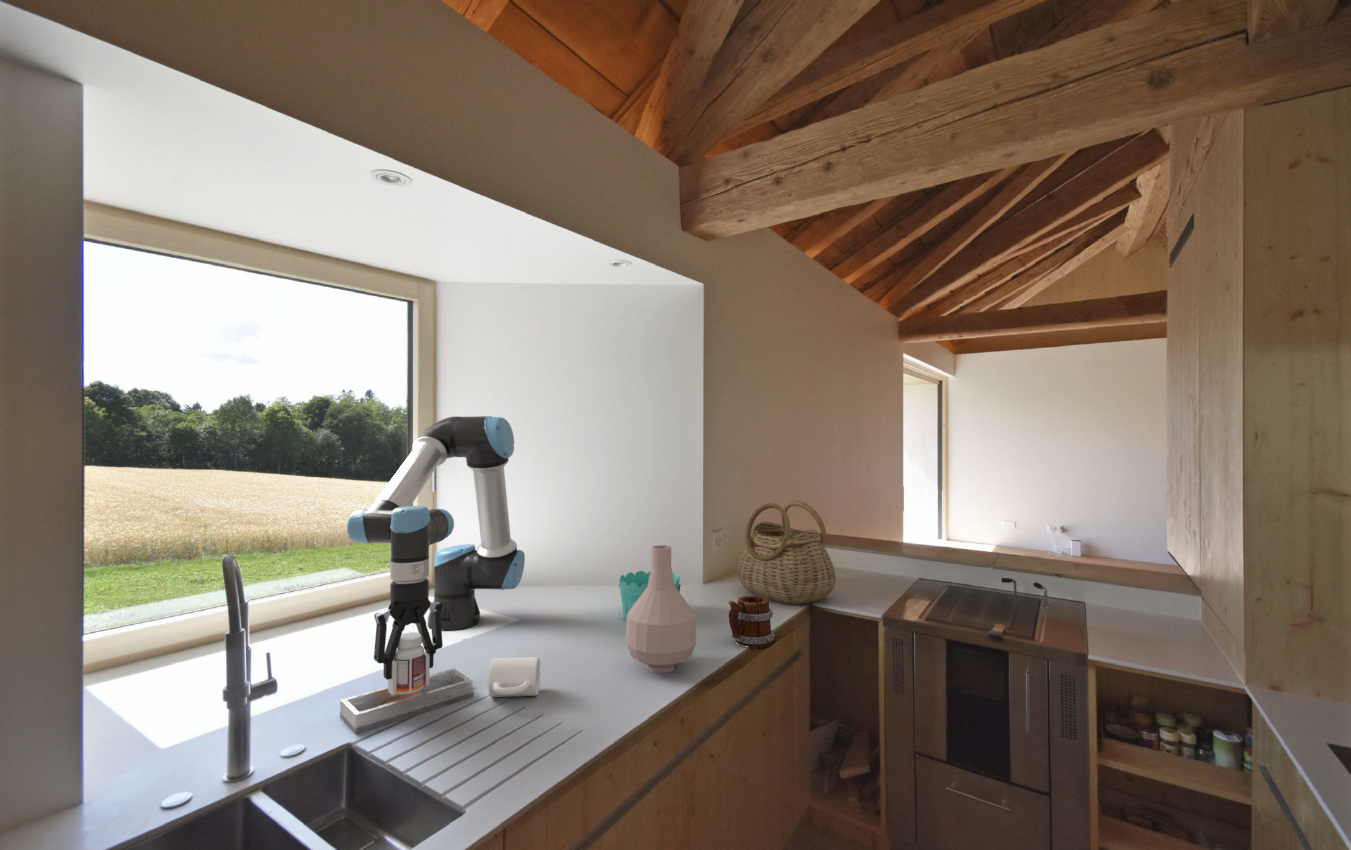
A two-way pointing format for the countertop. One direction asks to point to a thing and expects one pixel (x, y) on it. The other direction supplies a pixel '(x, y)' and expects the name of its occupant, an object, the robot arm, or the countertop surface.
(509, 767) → the countertop surface
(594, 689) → the countertop surface
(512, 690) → the mug
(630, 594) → the bucket
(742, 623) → the mug
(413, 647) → the pill bottle
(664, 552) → the vase
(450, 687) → the tray
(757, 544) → the basket
